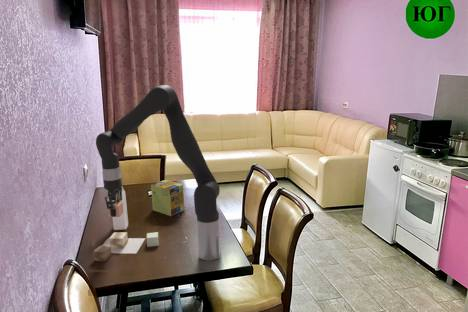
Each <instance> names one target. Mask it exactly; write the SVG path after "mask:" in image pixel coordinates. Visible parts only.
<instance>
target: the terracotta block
mask: <svg viewBox="0 0 468 312" xmlns="http://www.w3.org/2000/svg"><path fill="white" fill-rule="evenodd" d="M113 205H114V204H113ZM106 209H107V208H106ZM122 214H123V203H122V202H117V203H116V216H115V217H120V216H121V215H122ZM107 215H108V216H107V217H108V218H112V217H111V213H110V209H107Z"/></svg>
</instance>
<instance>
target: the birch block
mask: <svg viewBox="0 0 468 312" xmlns="http://www.w3.org/2000/svg"><path fill="white" fill-rule="evenodd" d="M108 238H109V241H110V247H111V249H124V247H125V246H126V245H127V243H128V231H127V232H126V231H125V232H124V231H123V232H122V231H121V232H120V231H119V232H118V231H116V232H115V231H114V232H113V233H112V234H111V235H110V237H108Z"/></svg>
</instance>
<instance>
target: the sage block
mask: <svg viewBox="0 0 468 312" xmlns="http://www.w3.org/2000/svg"><path fill="white" fill-rule="evenodd" d="M146 245H147V248H151V247H157V246H160V243H159V231H157V232H156V231H155V232H147V233H146Z"/></svg>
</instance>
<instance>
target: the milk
mask: <svg viewBox="0 0 468 312" xmlns="http://www.w3.org/2000/svg"><path fill="white" fill-rule="evenodd" d="M126 197H127V196H126V190H125V189H124V187H123V186H122V200H121V202H122V203H123V214H122V215H121V216H120V217H111V218H112V225H113V226H112V227H113V230H114V231H121V230H123V231H124V230H127V228H128V227H129V217H128V209H127V208H128V207H127V198H126ZM112 201H114V200H112Z"/></svg>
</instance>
